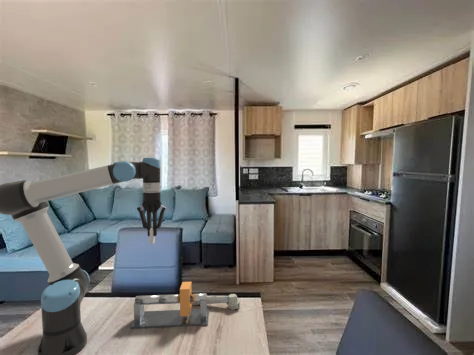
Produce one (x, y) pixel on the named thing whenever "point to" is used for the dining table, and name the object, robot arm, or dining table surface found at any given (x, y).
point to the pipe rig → (169, 312)
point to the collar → (185, 298)
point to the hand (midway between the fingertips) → (152, 243)
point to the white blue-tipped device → (224, 301)
